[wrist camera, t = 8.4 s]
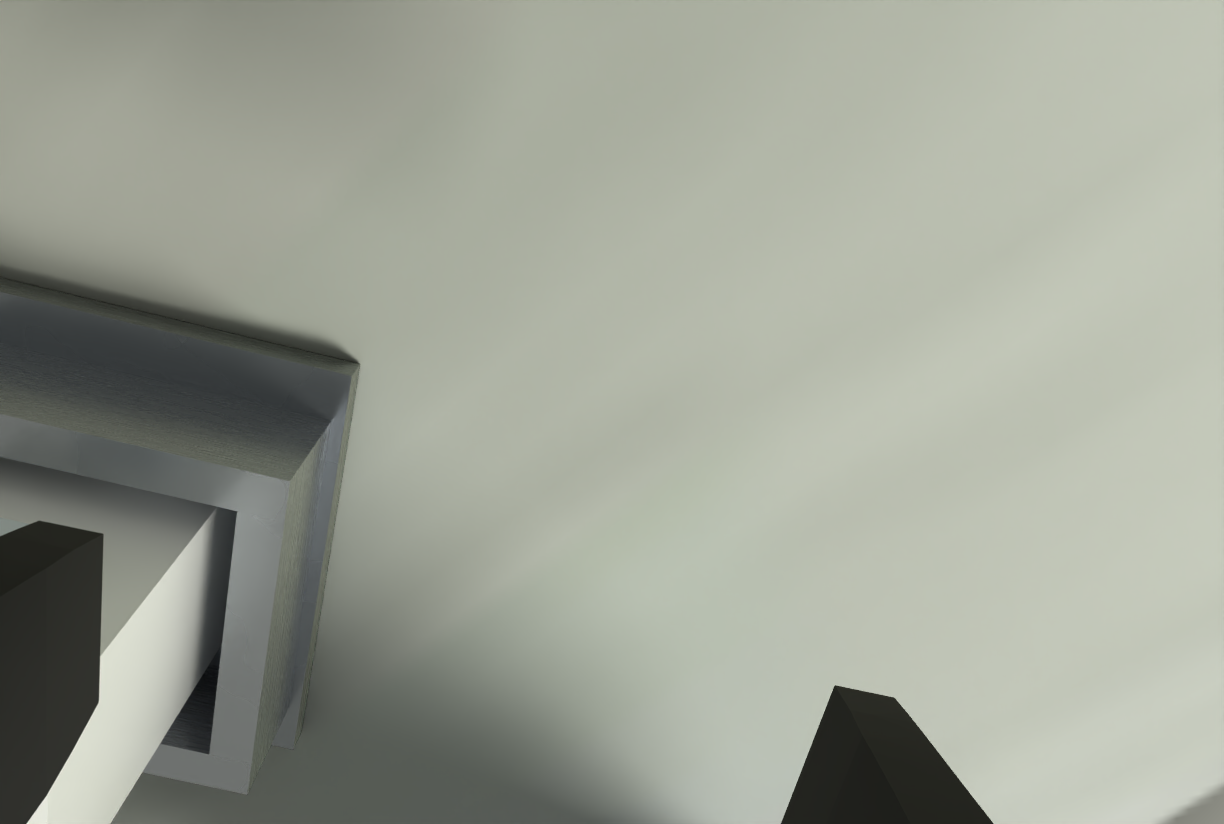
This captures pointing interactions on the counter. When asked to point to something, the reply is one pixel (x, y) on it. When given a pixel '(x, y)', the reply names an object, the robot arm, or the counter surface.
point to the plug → (131, 620)
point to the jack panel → (198, 485)
